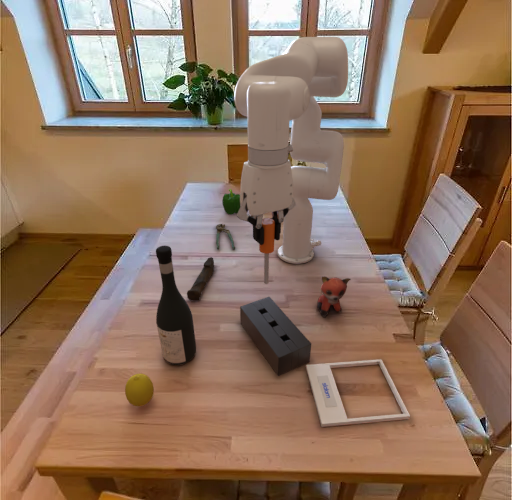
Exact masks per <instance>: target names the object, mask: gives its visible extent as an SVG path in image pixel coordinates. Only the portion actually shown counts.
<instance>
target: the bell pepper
mask: <svg viewBox="0 0 512 500" xmlns="http://www.w3.org/2000/svg"><path fill="white" fill-rule="evenodd" d="M228 191H229V193H225V194H223V196H222V200H221V201H222V203H221V204H222V206H223V209H224V212H225V213H226V214H228V215H229V216H230V215H235V214H237V213H238V211H239V209H240V207H241V206H240V193H237V194H236V193H235V192H233V189H231V188H230V189H228Z"/></svg>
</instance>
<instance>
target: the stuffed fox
mask: <svg viewBox="0 0 512 500" xmlns="http://www.w3.org/2000/svg"><path fill="white" fill-rule="evenodd" d="M321 281H322V284H321V285H320V291H321V293H322V294H321V295H320V296H319V298H318V299H317V306H316V307H317V309H318V311H319V312H320V316H321V317H324V318H327V317H326V316H327V315H328V314H329V312H330V308H331V306H332V307H333V309H334V310H335V312H336V313H343V309H342V306H341V302H340V300H341V299H343V297H344V296H345V294H346V291H347V288H348V283H349V281H351V278H349V277H346V278H343V279H342V278H339V277H331V278H329V277H327V276H325V275H324V276H321Z"/></svg>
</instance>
